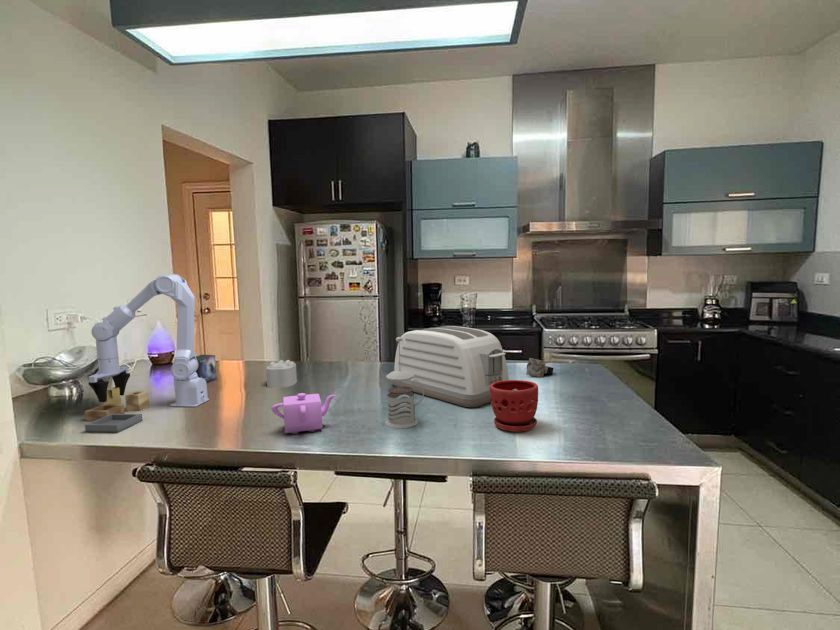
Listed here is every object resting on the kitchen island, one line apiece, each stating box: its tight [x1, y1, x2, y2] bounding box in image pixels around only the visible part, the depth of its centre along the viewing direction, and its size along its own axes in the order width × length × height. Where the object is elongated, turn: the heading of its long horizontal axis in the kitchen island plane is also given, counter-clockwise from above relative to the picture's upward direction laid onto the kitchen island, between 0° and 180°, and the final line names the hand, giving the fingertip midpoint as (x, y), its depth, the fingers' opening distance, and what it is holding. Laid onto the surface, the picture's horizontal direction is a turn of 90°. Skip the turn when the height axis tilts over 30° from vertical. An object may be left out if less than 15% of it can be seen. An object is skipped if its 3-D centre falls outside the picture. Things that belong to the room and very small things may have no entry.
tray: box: [84, 413, 144, 434], centre depth 137 cm, size 10×10×2 cm
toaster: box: [390, 325, 510, 408], centre depth 165 cm, size 23×45×22 cm, turn 41°
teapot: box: [270, 392, 337, 435], centre depth 130 cm, size 18×14×10 cm
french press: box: [384, 336, 425, 429], centre depth 133 cm, size 10×12×25 cm
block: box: [124, 390, 150, 412], centre depth 153 cm, size 4×4×6 cm
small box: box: [196, 354, 218, 384], centre depth 187 cm, size 11×6×10 cm, turn 168°
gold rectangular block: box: [103, 386, 122, 404], centre depth 154 cm, size 3×3×7 cm
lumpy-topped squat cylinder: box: [265, 359, 298, 388], centre depth 183 cm, size 10×13×9 cm
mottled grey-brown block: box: [525, 357, 554, 379], centre depth 187 cm, size 7×11×10 cm
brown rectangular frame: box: [84, 403, 125, 422], centre depth 146 cm, size 7×7×3 cm
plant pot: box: [490, 379, 539, 433], centre depth 128 cm, size 13×13×12 cm
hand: (111, 398), depth 154 cm, fingers open, 7 cm apart
